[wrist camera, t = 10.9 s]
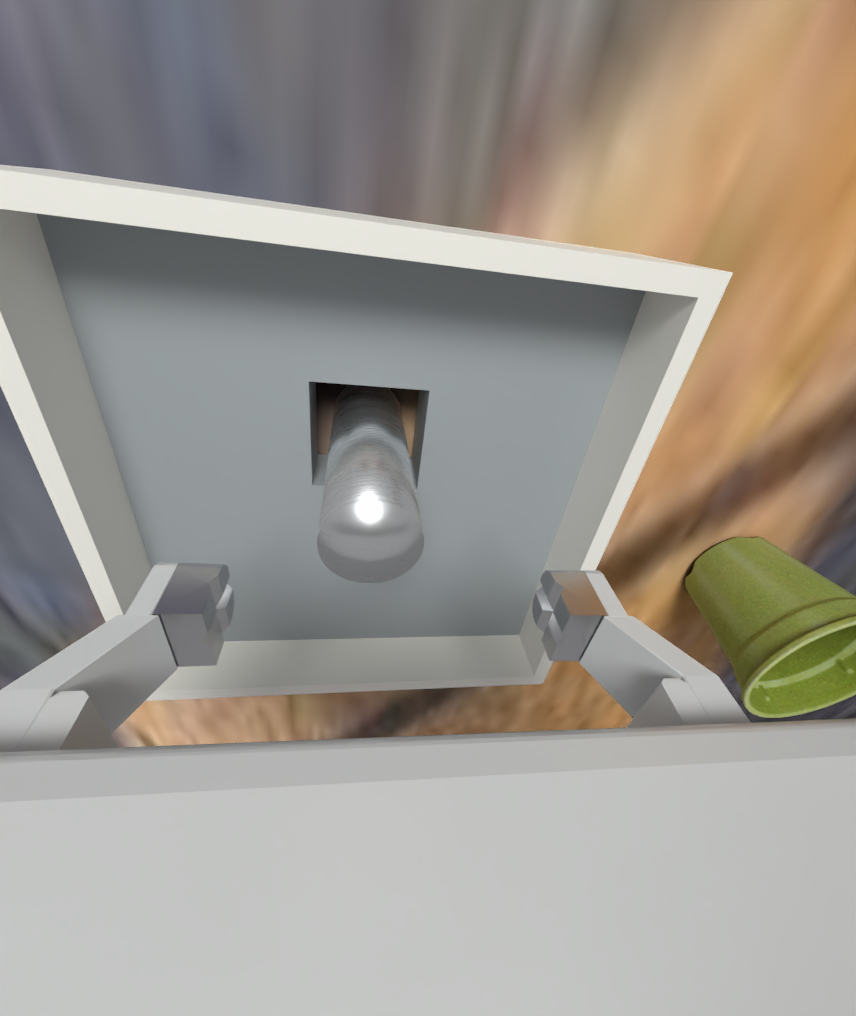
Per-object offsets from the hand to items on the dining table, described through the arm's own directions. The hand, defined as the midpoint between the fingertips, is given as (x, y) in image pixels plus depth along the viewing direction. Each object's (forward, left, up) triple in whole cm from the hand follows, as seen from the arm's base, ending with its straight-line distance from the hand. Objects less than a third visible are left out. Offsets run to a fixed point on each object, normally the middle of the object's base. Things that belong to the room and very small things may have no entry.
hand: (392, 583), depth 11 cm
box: (+1, +3, -12) cm, 12 cm away
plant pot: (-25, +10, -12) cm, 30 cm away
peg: (+1, 0, -12) cm, 12 cm away
